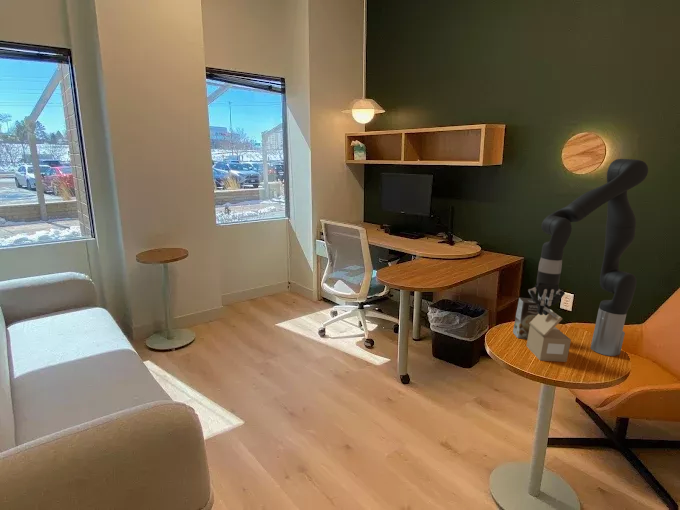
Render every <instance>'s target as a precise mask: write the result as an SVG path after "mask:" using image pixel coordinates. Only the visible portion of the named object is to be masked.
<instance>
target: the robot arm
mask: <svg viewBox="0 0 680 510" xmlns="http://www.w3.org/2000/svg"><path fill="white" fill-rule="evenodd" d="M648 173H649V167H648V164H647V162H645V161H643V160H641V159H636V158H635V159H632V158H631V159H629V158H617V159H614V160H613V161H612V162H611V163H610V165H608V168H607V171H606V183H605V184H603V185H600V186H598V187H596V188H594V189H591V190H588V191H586V192H585V193H583V194H581V195H579V196H578V197H577V198H575V199H574V200H573V201H571V202H570V203H569V204H567V205H566V206H564V207H561V208H560V209H558V210H556V211H554V212H552V213H550V214H548V215H547V216H546V217H545V218H544V219H543V220H542V222H541V230H542V232H543V233H545V234H547V235H549V236H551V237H550V239H549V241H545V242H544V243H543V244H542V247H541V255H540V259H539V262H538V270H537V276H536V283H535V285H534V287H532V288H528V289H527V293H528V295H529V296H530V299H532V300H533V302H535V303H536V304H538V309H537V312H538V314H540V315H543V314H544V315H548V314H549V313H548V312H547V311H545V310H544V306H545V307H547V308H548V309H549V310H550V308H551V306H553V305H556V304H558V303H559V301H560V300H561V299H562V297H563V296H565V292H564V290H561V289H560V286H559V285H560V284H559V283H560V280H561V279H560V278H561V273H562V267H563V265H562V264H563V257H564V249H565V247H566V246H567V243H568V241H569V238H570V236H571V233H572V229H573V227H572V223H578V222H580V221H582V220H584V219H585V218H586V217H588V216H589V215H590V214H591V213H593V212H594V211H596V210H597V209H599V207H601V206H602V205H605V204H607V207H606V208H607V209H606V211H607V212H606V216H607V217H606V223H605V224H606V225H605V239H604V240H605V241H604V251H603V259H602V264H601V270H600V275H599V285H600V288H601V289H602V290H603V291H606V292H608V293H611V294H613V297H612V299H603V300H601V301H600V303H599V307H598V311H597V314H596V315H597V316H596V321H595V325H594V330H593V334H592V340H591V343H590V349H591V350H592V351H593V352H596V353H597V354H600V355H603V356H609V357H610V356H611V357H615V356H619V355H621V351H622V348H623V347H622V346H623V343H624V340H625V334H626V332H625V331H624V328H625V327H624V326H625V322H626V319H627V318H626V317H627V314H628V310H629V308H630V307H631V305H632V302H633V298H634V295H635V291H636V288H637V282H638V281H637V278H636V275H634V274H633V273H630V272H627V271H623V270H620V260H621V257H622V255H623V254H624V253H625V251H627V249H628V248H629V247H630V246H631V245H632V243H634V242H633V241H634V240H635V236H636V229H637V221H636V216H635V213H634V210H633V208H632V207H631V204H630V201H629V199H628V191H629V190H632V189H633V188H635V187H637V186H638V185H640V184H641V183H643V182H644V181H645V179H646V178H647V176H648ZM536 294H537V295H536ZM544 303H545V304H544ZM543 305H544V306H543Z"/></svg>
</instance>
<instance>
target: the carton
mask: <svg viewBox="0 0 680 510" xmlns="http://www.w3.org/2000/svg"><path fill="white" fill-rule="evenodd" d="M526 340H527V341H526V347H527V348H528V350H529V351H530V352H531V353H532V354H534V356H535V357H536V358H537V359H538V360H539V361H546V362H547V361H548V362H561V363H563V362H564V363H567V362H568V356H569V351H570V346H571V341H572V339H571V338H570V337H568V335H566V334H565V333H563V332H562V331H561V330H560V329H559V328H557V326H555V327H554V328H553V329H552V330H551V331H550V332H549V333H548V334H547V335H546V336H545V337H543V336H542V335H541V334H540V333H538V332H537V331H536V330H535V329H534V328H533V327H532V326H531V325H530V328H529V334H528V339H526Z"/></svg>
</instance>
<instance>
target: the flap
mask: <svg viewBox="0 0 680 510" xmlns="http://www.w3.org/2000/svg"><path fill="white" fill-rule="evenodd" d="M543 306H544V305H543ZM544 310H545V311H547V312H548V313H549V314H548V315H544V314H543V315H540V314H538V315H537V316H536V317H535V318H534V319H533V320H532V321H531V322H530V323H529V324H530V325H531V326H532V327H533V328H534V329H535V330H536V331H537V332H538V333H540V334H541V335H542V336H543V337H545V336H546V335H547V334H548V333H549V332H550V331H551V330H552V329H553V328H554V327H557V325H558V324H559V323H561V321H563V317H561V316H560V315H559V314H557V313H556V312H555V311H553V310H552V309H550V310H549V309H548V308H547V307H545V306H544Z"/></svg>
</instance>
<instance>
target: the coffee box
mask: <svg viewBox="0 0 680 510" xmlns="http://www.w3.org/2000/svg"><path fill="white" fill-rule="evenodd" d="M544 304H545V302H544ZM537 309H538V304H536V303H535V302H533V300H532V298H528V297H521V296H520V297H518V304H517V309H516V312H515V320H514V324H513V330H512V333H513V335H514V336H515V337H516V338H517V339H523V340H528V334H529V328H530V324H529V323H530V322H531V321H532V320H533V319H534V318H535V317H536V316H537V315H538V312H537Z"/></svg>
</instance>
